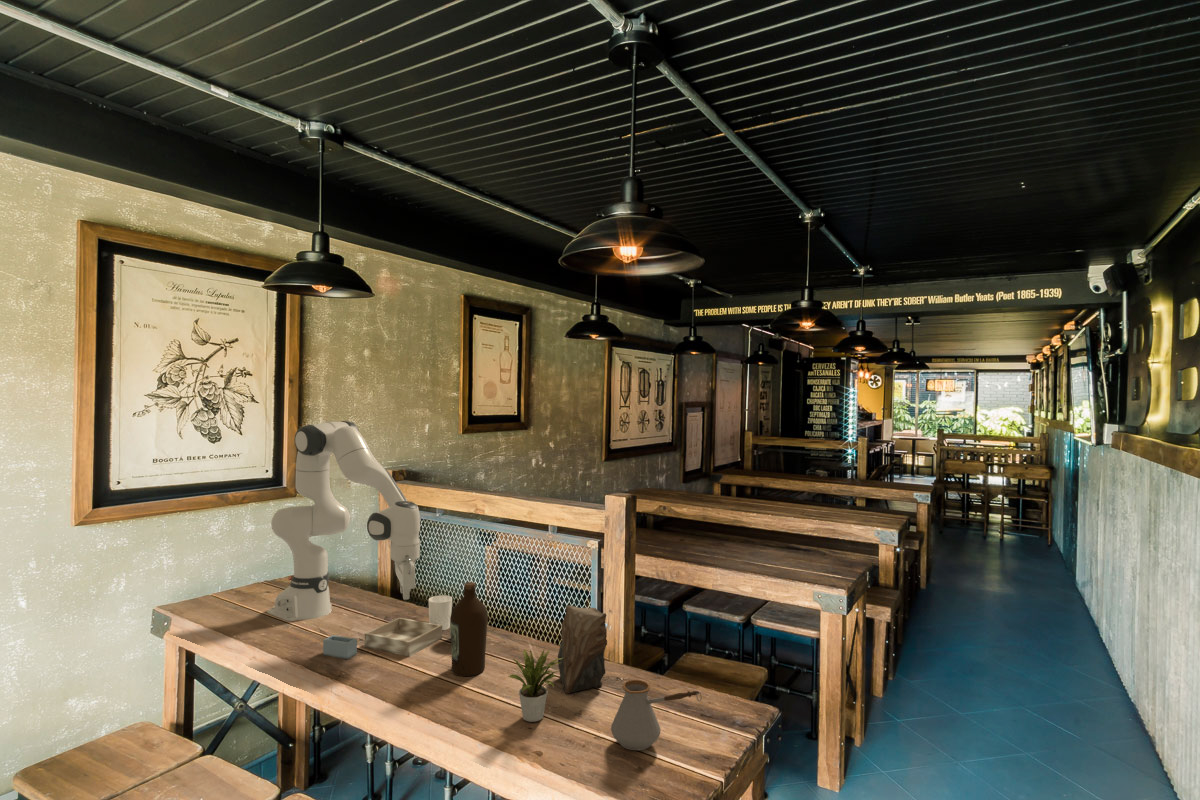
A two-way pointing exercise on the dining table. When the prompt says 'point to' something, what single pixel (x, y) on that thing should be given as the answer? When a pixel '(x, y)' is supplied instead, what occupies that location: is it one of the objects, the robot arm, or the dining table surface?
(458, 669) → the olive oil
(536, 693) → the house plant
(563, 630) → the brown rock
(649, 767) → the dining table surface
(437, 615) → the white cup
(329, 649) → the box
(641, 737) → the coffee pot
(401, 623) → the beige shallow tray
